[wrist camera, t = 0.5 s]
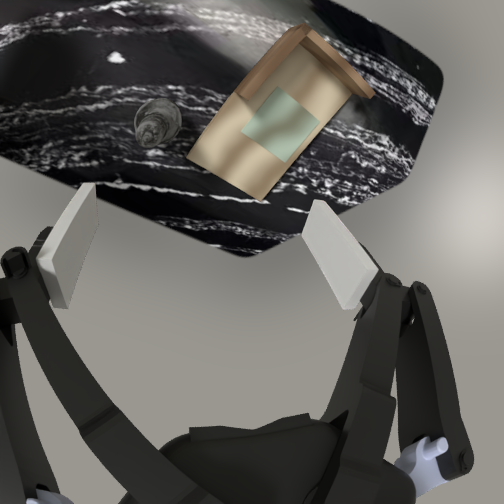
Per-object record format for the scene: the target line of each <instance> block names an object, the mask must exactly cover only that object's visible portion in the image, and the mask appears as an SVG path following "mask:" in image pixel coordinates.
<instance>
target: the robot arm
mask: <svg viewBox="0 0 504 504" xmlns="http://www.w3.org/2000/svg"><path fill="white" fill-rule="evenodd" d="M97 214H98V213H97V203H96V186H95V183H83V184H82V186H81V187H80V188H79V190H78V191H77V193H76V194H75V195H74V197H73V198H72V200H71V201H70V203H69V204H68V206H67V207H66V209H65V210H64V212H63V213H62V215H61V216H60V218H59V219H58V221H57V223H56V224H55V226H54V227H47V228H45V229H44V230H43V231H42V232H40V234H39V235H38V237H37V239H36V241H35V242H34V244H33V246H32V247H31V249H30V251H29V253H27V250H26V249H25V248H23V247H14V248H11V249H10V250H8V251H6V252H5V254H4V255H3V256H2V258H1V262H0V264H1V266H2V269H3V271H4V273H5V276H6V277H5V278H0V504H74V503H73V502H72V501H71V500H69V499H68V498H67V497H65V496H63V495H61V494H60V491H59V488H58V485H57V482H56V479H55V477H54V474H53V472H52V469H51V467H50V464H49V462H48V460H47V457H46V455H45V452H44V450H43V447H42V444H41V442H40V439H39V436H38V433H37V431H36V427H35V424H34V421H33V418H32V414H31V411H30V408H29V404H28V400H27V396H26V392H25V387H24V383H23V378H22V374H21V368H20V362H19V356H18V349H17V341H16V334H15V324H17V323H22V326H23V328H24V330H25V333H26V335H27V338H28V340H29V342H30V345H31V347H32V349H33V351H34V353H35V355H36V358H37V360H38V362H39V364H40V366H41V368H42V369H43V372H44V373H45V375H46V377H47V379H48V381H49V383H50V385H51V386H52V388H53V390H54V392H55V393H56V395H57V397H58V398H59V400H60V401H61V403H62V405H63V406H64V408H65V409H66V411H67V413H68V414H69V416H70V417H71V419H72V420H73V422H74V423H75V425H76V426H77V428H78V429H79V432H80V435H81V436H82V438H83V440H84V441H85V443H86V444H87V445H88V447H89V448H90V449H91V450H92V452H93V453H94V454H95V456H96V457H97V458H98V459H99V460H100V462H101V463H102V464H103V465H104V466H105V468H106V469H107V470H108V471H109V472H110V473H111V474H112V475H113V476H114V478H115V479H116V480H117V481H118V482H119V483H120V484H121V485H122V486H123V487H124V488H125V489H126V490H127V491H128V492H127V493H126V494H125V496H124V497H123V498H122V499H121V501H120V502H119V503H118V504H415V502H416V498H417V497H419V496H421V495H423V494H424V493H426V492H428V491H429V490H431V489H433V488H434V487H436V486H438V485H440V484H443V483H445V482H448V481H451V480H453V479H455V478H458V477H460V476H463V475H465V474H467V473H469V472H470V470H471V469H472V467H473V464H474V454H473V450H472V447H471V445H470V441H469V438H468V435H467V432H466V429H465V427H464V424H463V421H462V418H461V414H460V407H459V401H458V395H457V389H456V383H455V378H454V374H453V369H452V364H451V360H450V356H449V352H448V348H447V344H446V340H445V336H444V333H443V329H442V326H441V322H440V319H439V316H438V313H437V309H436V306H435V303H434V300H433V298H432V295H431V292H430V290H429V289H428V287H427V286H426V285H424V284H423V283H421V282H418V281H415V282H414V283H413V284H412V285H411V287H410V288H409V287H406V286H402V283H401V281H400V280H399V279H398V278H397V277H395V276H394V275H392V274H389V273H384V272H383V270H382V269H381V267H380V266H379V265H378V264H377V262H376V261H375V260H374V259H373V257H372V255H371V254H370V253H369V252H368V250H367V249H366V248H365V247H364V246H363V245H362V244H361V243H359V242H357V240H356V239H355V238H354V236H353V235H352V234H351V233H350V231H349V230H348V229H347V228H346V227H345V225H344V224H343V223H342V221H341V220H340V219H339V218H338V217H337V215H336V214H335V213H334V212H333V211H332V209H331V208H330V207H329V206H328V205H327V203H326V202H325V201H322V200H314V201H313V204H312V207H311V210H310V213H309V215H308V218H307V221H306V224H305V227H304V229H303V232H302V237H303V239H304V240H305V242H306V244H307V246H308V247H309V249H310V251H311V253H312V254H313V256H314V258H315V260H316V261H317V263H318V265H319V267H320V269H321V270H322V272H323V274H324V276H325V277H326V279H327V281H328V283H329V285H330V287H331V288H332V290H333V292H334V294H335V296H336V298H337V299H338V301H339V303H340V305H341V307H342V309H343V310H348V309H355V307H356V306H357V304H358V303H359V301H360V302H361V303H362V305H363V307H362V308H361V309H360V311H359V312H358V314H357V315H356V317H355V318H354V321H355V320H356V319H357V322H356V326H355V329H354V332H353V336H352V339H351V342H350V345H349V349H348V352H347V355H346V358H345V361H344V364H343V367H342V369H341V372H340V375H339V378H338V381H337V383H336V386H335V389H334V392H333V394H332V397H331V399H330V402H329V404H328V407H327V409H326V412H325V413H324V415H323V416H322V417H321V419H320V420H315V419H310V416H309V413H305V414H300V415H295V416H290V417H285V418H281V419H279V420H276V421H274V422H272V423H270V424H267V425H265V426H262V427H260V428H258V429H254V430H250V429H241V428H233V427H226V426H211V427H210V426H209V427H190V428H189V433H188V434H184V435H181V436H179V437H176V438H174V439H173V440H171V441H169V442H168V443H166V444H165V445H164V446H163V447H162V448H161V449H159V450H157V449H156V448H155V447H154V446H153V445H152V444H151V443H150V442H149V441H148V440H147V439H146V438H145V437H144V436H143V435H142V433H141V432H140V431H139V430H138V429H137V428H136V427H135V426H134V425H133V424H132V423H131V422H130V420H128V418H127V417H126V416H125V415H124V414H123V412H122V411H121V410H119V408H118V407H117V406H116V405H115V404H114V403H113V402H112V401H111V400H110V398H109V397H108V396H107V394H106V393H105V392H104V391H103V389H102V388H101V387H100V385H99V384H98V383H97V381H96V380H95V378H94V377H93V376H92V374H91V373H90V371H89V370H88V368H87V367H86V366H85V364H84V363H83V361H82V360H81V358H80V357H79V355H78V353H77V352H76V350H75V349H74V347H73V346H72V344H71V342H70V341H69V339H68V337H67V336H66V334H65V332H64V330H63V329H62V327H61V325H60V324H59V322H58V320H57V318H56V316H55V314H54V312H53V311H52V309H51V307H50V305H49V300H51V302H52V305H53V307H54V308H62V309H68V307H69V304H70V301H71V297H72V294H73V291H74V288H75V285H76V282H77V279H78V276H79V273H80V270H81V268H82V265H83V262H84V259H85V257H86V254H87V251H88V249H89V246H90V244H91V242H92V239H93V237H94V234H95V232H96V230H97V227H98V225H99V223H98V215H97ZM413 319H414V321H413V324H412V320H413ZM395 369H396V382H397V399H398V436H399V446H400V452H401V456H400V458H398V459H397V460H396V461H395V464H394V465H393V464H391V463H389V462H387V461H386V460H385V459H383V457H384V454H385V451H386V447H387V443H388V439H389V436H390V431H391V427H392V423H393V418H394V414H395V409H396V399H395V398H394V397H392V396H390V393H391V388H392V382H393V377H394V371H395Z"/></svg>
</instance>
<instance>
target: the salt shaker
mask: <svg viewBox="0 0 504 504" xmlns="http://www.w3.org/2000/svg"><path fill="white" fill-rule="evenodd" d="M181 124H182V117H181V113H180V109H179V107H178V106H177V104H176V103H175V102H173V101H172V100H169V99H165V98H160V99H154V100H150V101H149V102H147V103H145V104H144V105H143V106H141V107H140V109H139V110H138V112H137V113H136V116H135V121H134V126H135V131H136V134H135V137H136V141H137V143H138V144H139V145H141V146H142V147H145V148H151V147H154V146H156V145H160V144H165V143H167V142H169V141H171V140H172V139H173V138H174V137H175V136H176V135H177V134H178V132H179V130H180V128H181Z"/></svg>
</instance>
